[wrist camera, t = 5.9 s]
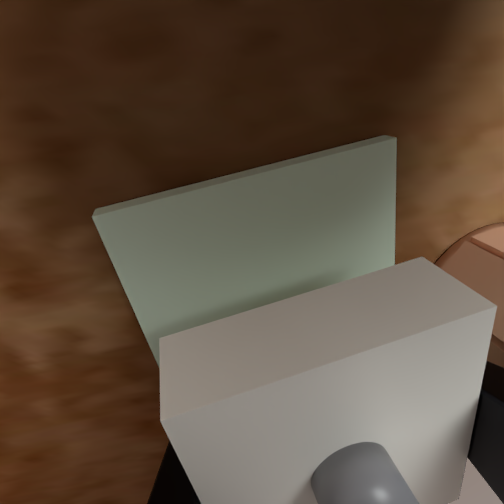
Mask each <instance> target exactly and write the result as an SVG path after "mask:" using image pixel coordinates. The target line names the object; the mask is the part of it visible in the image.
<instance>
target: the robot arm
mask: <svg viewBox="0 0 504 504" xmlns="http://www.w3.org/2000/svg"><path fill="white" fill-rule="evenodd" d="M467 457H468V459H469V460H470V461H471V463H472V464H473V465H474V466H475V468H476V469H477V470H478V472H479V473H480V474H481V475H482V477H483V478H484V479H485V480H486V482H487V483H488V484H489V486H490V487H491V488H492V490H493V491H494V492H495V493H496V495H497V496H498V497H499V499H500V500H501V501H502V502H503V504H504V368H503V367H501V366H498V365H496V364H494V363H491V362H489V361H487V360H486V365H485V370H484V375H483V380H482V385H481V390H480V395H479V400H478V405H477V411H476V416H475V421H474V426H473V431H472V436H471V441H470V446H469V451H468V456H467ZM147 504H201V502H200V500H199V498H198V496H197V494H196V492H195V490H194V488H193V486H192V484H191V482H190V480H189V478H188V476H187V474H186V472H185V470H184V468H183V466H182V464H181V462H180V460H179V458H178V456H177V454H176V452H175V450H174V448H173V446H172V444H171V442H170V440H169V443H168V446H167V449H166V451H165V454H164V457H163V460H162V463H161V466H160V469H159V471H158V474H157V477H156V480H155V483H154V486H153V488H152V491H151V494H150V497H149V500H148V503H147Z"/></svg>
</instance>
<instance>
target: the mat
mask: <svg viewBox="0 0 504 504" xmlns="http://www.w3.org/2000/svg"><path fill="white" fill-rule="evenodd" d="M396 156H397V138H395V137H391V136H387V135H382V136H378V137H374V138H371V139H367V140H363V141H359V142H355V143H351V144H347V145H343V146H339V147H335V148H331V149H328V150H324V151H320V152H316V153H312V154H308V155H304V156H300V157H296V158H292V159H288V160H285V161H281V162H277V163H273V164H269V165H265V166H261V167H257V168H253V169H249V170H245V171H242V172H238V173H234V174H230V175H226V176H222V177H218V178H214V179H210V180H206V181H202V182H199V183H195V184H191V185H187V186H183V187H179V188H175V189H171V190H167V191H163V192H160V193H156V194H152V195H148V196H144V197H140V198H136V199H132V200H128V201H124V202H120V203H117V204H113V205H109V206H105V207H101V208H97V209H95V211H94V213H93V215H92V219H93V221H94V223H95V225H96V228H97V230H98V232H99V234H100V237H101V239H102V241H103V243H104V245H105V248H106V250H107V252H108V254H109V257H110V259H111V261H112V263H113V266H114V268H115V270H116V272H117V275H118V277H119V279H120V281H121V284H122V286H123V288H124V290H125V292H126V295H127V297H128V299H129V301H130V304H131V306H132V308H133V310H134V313H135V315H136V317H137V319H138V322H139V324H140V326H141V328H142V331H143V333H144V335H145V337H146V339H147V342H148V344H149V346H150V348H151V351H152V353H153V355H154V357H155V360H156V362H157V364H158V366H159V369H160V351H159V338H161V337H165V336H168V335H171V334H174V333H178V332H181V331H184V330H187V329H190V328H194V327H197V326H200V325H203V324H207V323H210V322H213V321H216V320H219V319H223V318H226V317H229V316H232V315H236V314H239V313H242V312H245V311H248V310H252V309H255V308H258V307H261V306H265V305H268V304H271V303H274V302H277V301H281V300H284V299H287V298H290V297H294V296H297V295H300V294H303V293H306V292H310V291H313V290H316V289H319V288H323V287H326V286H329V285H332V284H335V283H339V282H342V281H345V280H348V279H352V278H355V277H358V276H361V275H364V274H368V273H371V272H374V271H377V270H381V269H384V268H387V267H390V266H393V265H395V216H396Z"/></svg>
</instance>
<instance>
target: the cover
mask: <svg viewBox="0 0 504 504" xmlns="http://www.w3.org/2000/svg"><path fill="white" fill-rule="evenodd" d="M496 310H497V305H495V304H494V303H492V302H490V301H489V300H487V299H486V298H484V297H483V296H481V295H480V294H478V293H477V292H475V291H474V290H472V289H471V288H469V287H468V286H466V285H465V284H463V283H462V282H460V281H459V280H457V279H456V278H454V277H453V276H451V275H450V274H448V273H446V272H445V271H443V270H442V269H440V268H439V267H437V266H436V265H434V264H433V263H431V262H430V261H428V260H427V259H425V258H424V257H419V258H416V259H413V260H410V261H406V262H403V263H400V264H397V265H393V266H390V267H387V268H384V269H381V270H377V271H374V272H371V273H368V274H364V275H361V276H358V277H355V278H352V279H348V280H345V281H342V282H339V283H335V284H332V285H329V286H326V287H323V288H319V289H316V290H313V291H310V292H306V293H303V294H300V295H297V296H294V297H290V298H287V299H284V300H281V301H277V302H274V303H271V304H268V305H265V306H261V307H258V308H255V309H252V310H248V311H245V312H242V313H239V314H236V315H232V316H229V317H226V318H223V319H219V320H216V321H213V322H210V323H207V324H203V325H200V326H197V327H194V328H190V329H187V330H184V331H181V332H178V333H174V334H171V335H168V336H165V337H161V338H159V351H160V422H161V424H162V426H163V428H164V430H165V432H166V434H167V436H168V438H169V440H170V442H171V444H172V446H173V448H174V450H175V452H176V454H177V456H178V458H179V460H180V462H181V464H182V466H183V468H184V470H185V472H186V474H187V476H188V478H189V480H190V482H191V484H192V486H193V488H194V490H195V492H196V494H197V496H198V498H199V500H200V502H201V504H448V503H450V502H453V501H455V500H457V499H459V496H460V491H461V486H462V481H463V476H464V471H465V466H466V460H467V456H468V451H469V446H470V441H471V436H472V431H473V426H474V421H475V416H476V411H477V405H478V400H479V395H480V390H481V385H482V380H483V375H484V370H485V365H486V360H487V355H488V350H489V345H490V340H491V335H492V330H493V325H494V320H495V315H496Z"/></svg>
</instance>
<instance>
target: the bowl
mask: <svg viewBox="0 0 504 504" xmlns="http://www.w3.org/2000/svg"><path fill="white" fill-rule="evenodd" d="M435 265H436V266H437V267H439V268H440V269H442V270H443V271H445V272H446V273H448V274H450V275H451V276H453V277H454V278H456V279H457V280H459V281H460V282H462V283H463V284H465V285H466V286H468V287H469V288H471V289H472V290H474V291H475V292H477V293H478V294H480V295H481V296H483V297H484V298H486V299H487V300H489V301H490V302H492V303H494V304H495V305H497V310H496V315H495V320H494V325H493V330H492V335H491V340H490V345H489V350H488V355H487V361H489V362H491V363H494V364H496V365H498V366H501V367H503V368H504V222H503V223H495V224H491V225H487V226H484V227H481V228H479V229H477V230H475V231H473V232H471V233H469V234H467V235H466V236H464V237H463V238H461V239H460V240H459V241H457V242H456V243H455V244H453V245H452V246H451V247H450V248H449V249H448V250H447V251H446V252H445V253H444V254H443V255H442V256H441V257H440V258H439V259H438V261H437V262H436V263H435Z"/></svg>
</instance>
